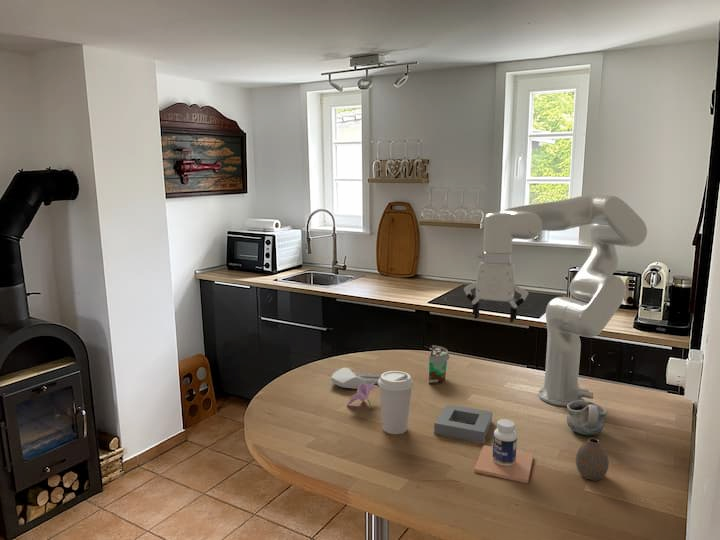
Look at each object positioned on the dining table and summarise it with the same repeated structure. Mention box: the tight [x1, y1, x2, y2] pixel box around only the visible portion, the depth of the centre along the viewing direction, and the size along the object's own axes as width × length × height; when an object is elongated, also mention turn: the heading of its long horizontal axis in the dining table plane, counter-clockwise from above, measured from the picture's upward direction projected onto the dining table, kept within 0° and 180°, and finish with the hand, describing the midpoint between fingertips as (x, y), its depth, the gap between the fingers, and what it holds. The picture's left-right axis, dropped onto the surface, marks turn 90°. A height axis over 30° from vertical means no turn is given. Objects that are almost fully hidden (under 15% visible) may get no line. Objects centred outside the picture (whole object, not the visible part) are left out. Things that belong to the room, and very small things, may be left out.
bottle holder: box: [433, 403, 493, 444], centre depth 148 cm, size 13×13×3 cm
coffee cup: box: [377, 370, 415, 435], centre depth 146 cm, size 10×10×15 cm
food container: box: [428, 344, 450, 386], centre depth 181 cm, size 12×6×10 cm, turn 168°
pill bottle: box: [492, 418, 518, 466], centre depth 129 cm, size 5×5×10 cm
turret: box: [330, 367, 383, 390], centre depth 178 cm, size 10×20×5 cm, turn 110°
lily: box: [346, 380, 378, 412], centre depth 160 cm, size 11×11×9 cm
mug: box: [566, 399, 607, 436], centre depth 144 cm, size 10×12×10 cm
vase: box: [575, 437, 610, 481], centre depth 124 cm, size 7×7×9 cm
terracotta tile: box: [473, 444, 534, 484], centre depth 130 cm, size 12×12×1 cm
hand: (494, 319), depth 151 cm, fingers open, 9 cm apart
